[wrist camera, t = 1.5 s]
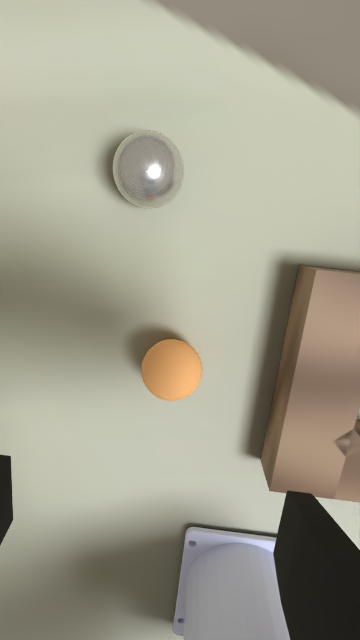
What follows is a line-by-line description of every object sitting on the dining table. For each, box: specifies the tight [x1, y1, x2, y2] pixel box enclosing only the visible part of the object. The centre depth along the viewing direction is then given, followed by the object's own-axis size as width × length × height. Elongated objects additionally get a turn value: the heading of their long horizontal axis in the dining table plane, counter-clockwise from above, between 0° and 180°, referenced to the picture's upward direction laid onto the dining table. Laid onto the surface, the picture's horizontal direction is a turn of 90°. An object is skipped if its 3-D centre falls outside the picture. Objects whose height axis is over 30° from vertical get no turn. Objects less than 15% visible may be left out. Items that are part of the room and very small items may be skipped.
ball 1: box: [113, 130, 184, 209], centre depth 14 cm, size 3×3×3 cm
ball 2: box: [142, 339, 202, 401], centre depth 17 cm, size 3×3×3 cm
